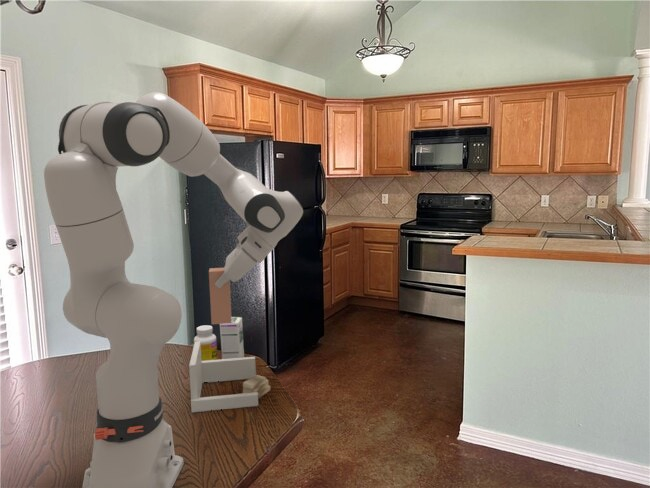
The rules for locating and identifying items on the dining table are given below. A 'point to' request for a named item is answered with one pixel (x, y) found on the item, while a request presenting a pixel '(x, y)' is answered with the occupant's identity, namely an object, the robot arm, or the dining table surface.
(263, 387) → the offcut stack
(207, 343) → the supplement bottle
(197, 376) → the offcut rack
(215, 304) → the salmon pink rectangular block
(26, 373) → the dining table surface
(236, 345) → the syrup box
